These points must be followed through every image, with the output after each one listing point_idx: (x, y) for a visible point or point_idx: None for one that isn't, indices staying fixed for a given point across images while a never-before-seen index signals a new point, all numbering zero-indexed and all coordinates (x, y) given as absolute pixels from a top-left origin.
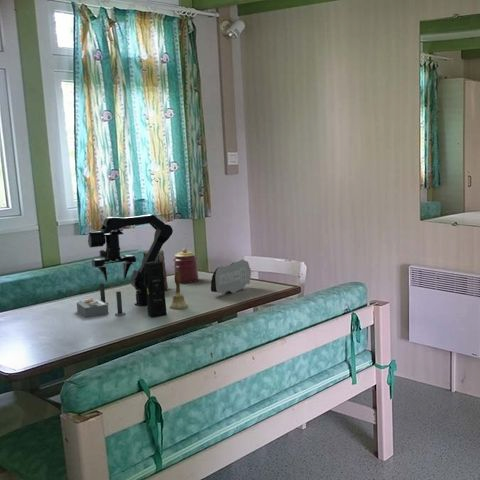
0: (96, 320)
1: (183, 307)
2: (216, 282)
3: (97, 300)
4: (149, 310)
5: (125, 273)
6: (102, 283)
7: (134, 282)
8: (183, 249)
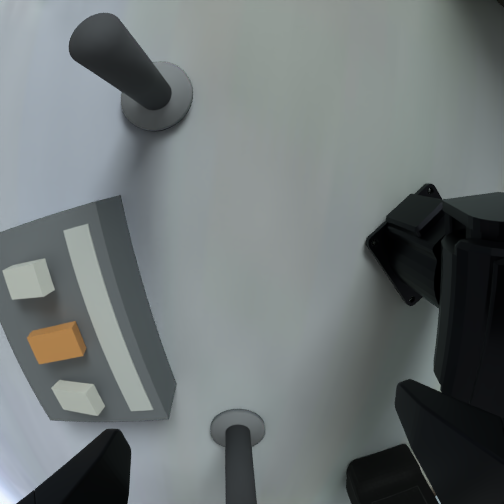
0: None
1: None
2: None
3: (86, 260)
4: (351, 497)
5: (431, 476)
6: (100, 47)
7: (450, 387)
8: None
